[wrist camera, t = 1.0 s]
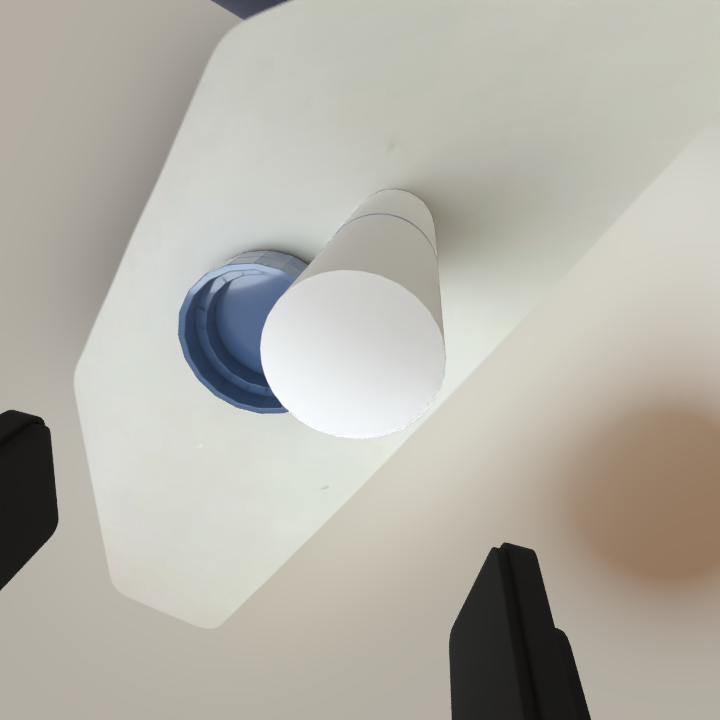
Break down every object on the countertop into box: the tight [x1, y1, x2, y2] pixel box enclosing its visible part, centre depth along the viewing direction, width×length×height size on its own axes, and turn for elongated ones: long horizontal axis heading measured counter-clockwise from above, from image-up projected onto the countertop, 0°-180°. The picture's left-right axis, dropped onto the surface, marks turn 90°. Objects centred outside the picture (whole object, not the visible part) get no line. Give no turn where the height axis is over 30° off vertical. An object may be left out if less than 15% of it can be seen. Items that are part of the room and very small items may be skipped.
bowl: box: [178, 250, 309, 414], centre depth 43 cm, size 14×14×5 cm
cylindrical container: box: [260, 189, 446, 439], centre depth 29 cm, size 7×7×25 cm
